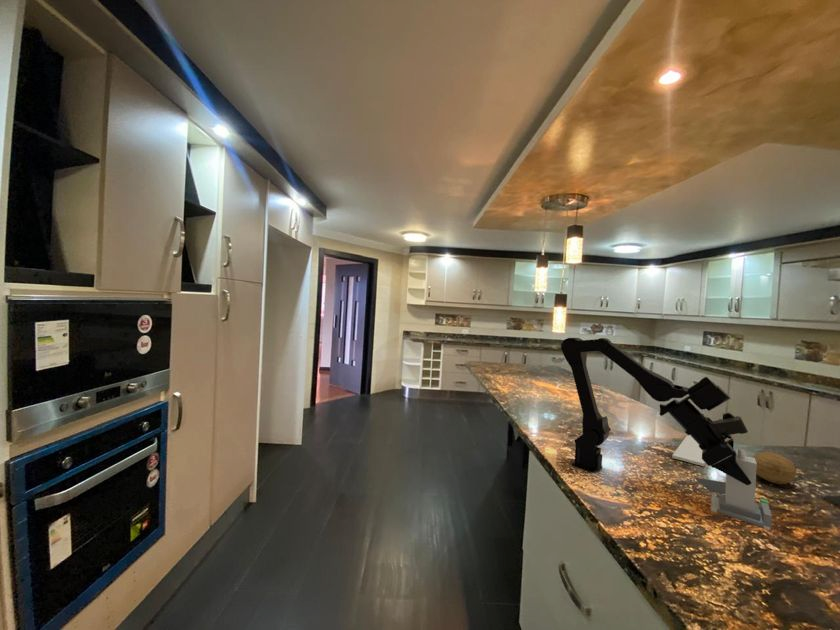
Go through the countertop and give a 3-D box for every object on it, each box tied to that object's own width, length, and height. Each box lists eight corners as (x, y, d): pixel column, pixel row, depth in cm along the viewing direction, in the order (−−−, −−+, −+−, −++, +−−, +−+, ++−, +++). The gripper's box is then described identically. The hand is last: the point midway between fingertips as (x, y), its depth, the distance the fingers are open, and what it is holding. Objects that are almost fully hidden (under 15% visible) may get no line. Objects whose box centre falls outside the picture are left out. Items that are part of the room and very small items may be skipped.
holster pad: (710, 492, 94) (710, 491, 94) (694, 478, 103) (694, 477, 103) (751, 499, 92) (751, 498, 92) (731, 484, 101) (731, 483, 101)
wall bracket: (702, 486, 112) (717, 455, 131) (710, 466, 110) (724, 438, 129) (666, 467, 119) (685, 441, 138) (673, 449, 117) (691, 424, 136)
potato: (790, 479, 107) (791, 452, 107) (801, 495, 96) (803, 466, 96) (746, 468, 113) (748, 443, 113) (752, 483, 102) (753, 455, 102)
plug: (719, 509, 85) (722, 450, 85) (719, 499, 90) (722, 444, 90) (760, 521, 80) (763, 459, 80) (757, 509, 85) (760, 452, 86)
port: (711, 512, 84) (712, 497, 84) (711, 496, 92) (712, 483, 92) (771, 530, 77) (772, 515, 77) (765, 511, 86) (766, 497, 86)
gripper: (723, 409, 81) (790, 473, 73) (721, 398, 95) (777, 451, 88) (678, 434, 85) (737, 497, 78) (683, 420, 100) (733, 472, 93)
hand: (748, 478), depth 84 cm, fingers open, 9 cm apart
